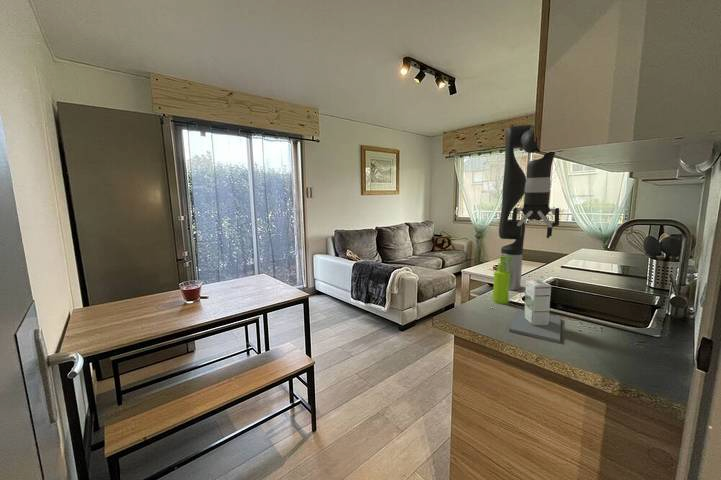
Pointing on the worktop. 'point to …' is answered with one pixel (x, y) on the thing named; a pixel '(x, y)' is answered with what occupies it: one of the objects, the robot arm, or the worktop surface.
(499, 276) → the soap dispenser
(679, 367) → the worktop surface
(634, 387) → the worktop surface
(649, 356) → the worktop surface
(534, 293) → the syrup box
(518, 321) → the slate mat
